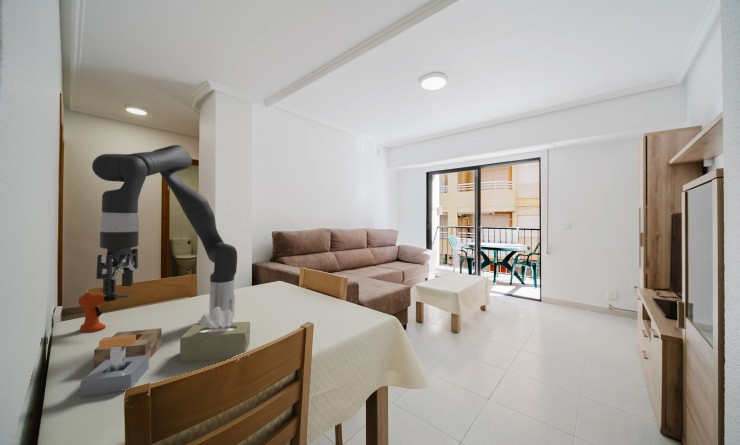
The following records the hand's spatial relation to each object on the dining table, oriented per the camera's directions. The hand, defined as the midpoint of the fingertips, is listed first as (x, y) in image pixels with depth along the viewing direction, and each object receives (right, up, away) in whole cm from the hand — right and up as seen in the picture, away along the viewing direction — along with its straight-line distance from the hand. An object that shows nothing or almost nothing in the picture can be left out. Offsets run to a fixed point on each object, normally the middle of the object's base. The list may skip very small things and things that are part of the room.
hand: (118, 289), depth 71 cm
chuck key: (-1, -25, 0) cm, 25 cm away
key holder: (-1, -25, 0) cm, 25 cm away
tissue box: (+17, -26, +17) cm, 35 cm away
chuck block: (-8, -25, +13) cm, 29 cm away
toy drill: (-35, -24, +31) cm, 52 cm away
